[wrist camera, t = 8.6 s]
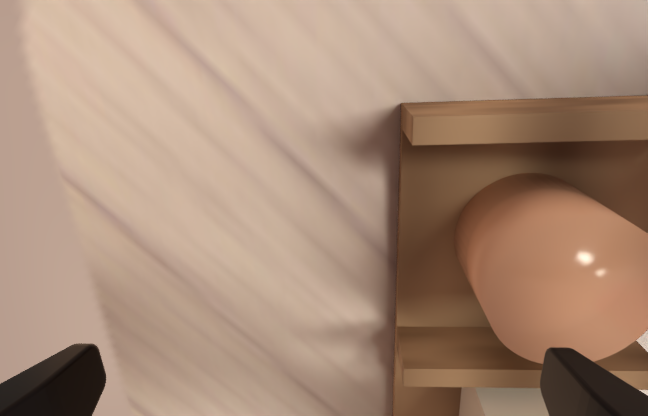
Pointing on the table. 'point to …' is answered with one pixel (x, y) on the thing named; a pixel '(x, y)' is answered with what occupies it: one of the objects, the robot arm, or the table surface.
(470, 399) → the cream rectangular block
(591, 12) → the table surface
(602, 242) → the peach rounded capsule
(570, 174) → the rack
